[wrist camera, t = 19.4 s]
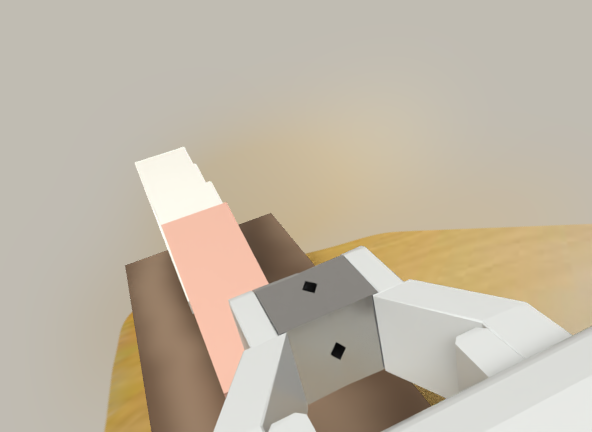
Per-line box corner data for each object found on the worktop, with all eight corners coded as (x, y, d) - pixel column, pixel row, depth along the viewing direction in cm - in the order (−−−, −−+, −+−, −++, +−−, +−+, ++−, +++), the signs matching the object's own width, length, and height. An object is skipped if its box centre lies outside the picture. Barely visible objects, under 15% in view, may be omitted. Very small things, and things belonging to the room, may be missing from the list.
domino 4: (307, 369, 30) (229, 216, 39) (306, 356, 29) (226, 202, 38) (228, 405, 29) (166, 239, 38) (224, 393, 28) (161, 225, 37)
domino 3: (255, 288, 39) (199, 176, 48) (253, 275, 37) (195, 163, 46) (192, 314, 37) (146, 194, 46) (188, 301, 36) (141, 181, 45)
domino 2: (281, 322, 35) (214, 194, 43) (279, 309, 33) (210, 180, 42) (211, 353, 33) (156, 215, 42) (207, 341, 32) (151, 201, 41)
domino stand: (291, 295, 54) (270, 213, 49) (540, 662, 25) (548, 547, 20) (161, 348, 50) (125, 265, 46) (270, 843, 21) (202, 756, 17)
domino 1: (236, 255, 43) (187, 158, 52) (234, 242, 42) (184, 146, 51) (179, 277, 42) (139, 174, 51) (174, 265, 40) (134, 162, 49)
